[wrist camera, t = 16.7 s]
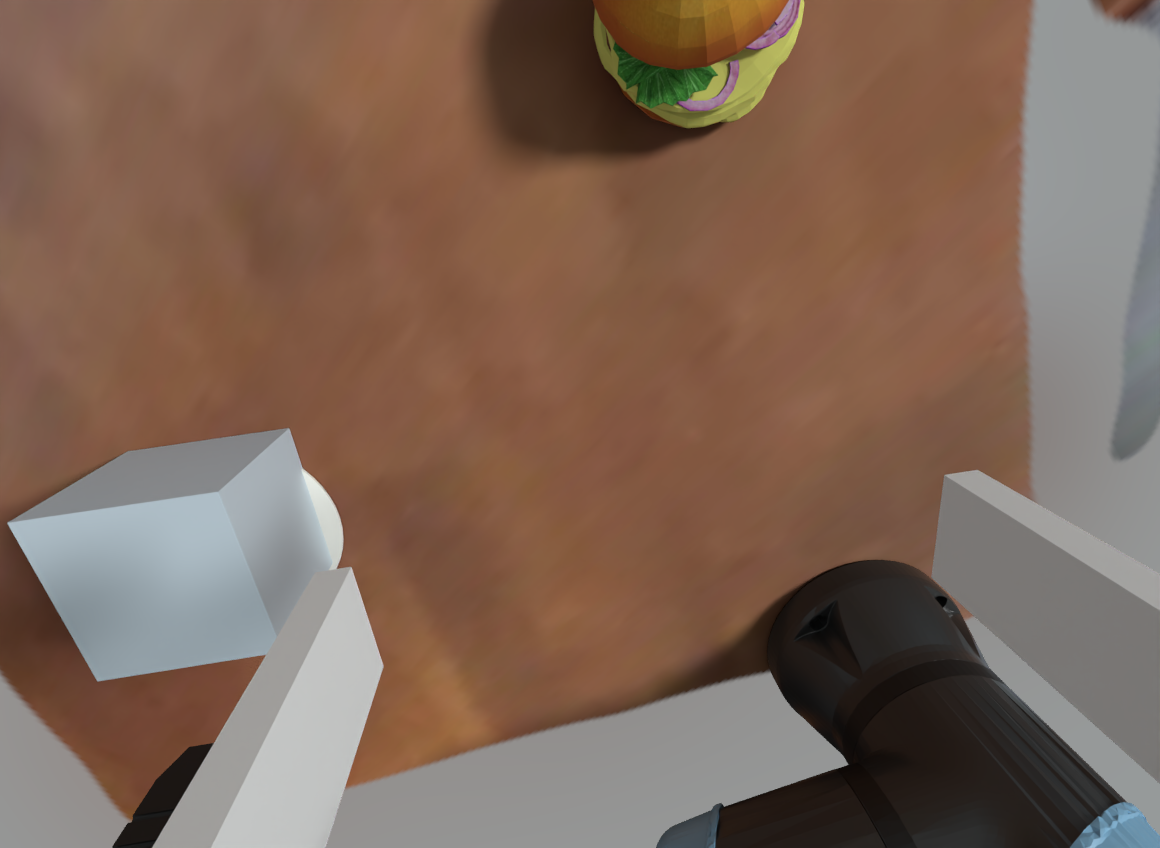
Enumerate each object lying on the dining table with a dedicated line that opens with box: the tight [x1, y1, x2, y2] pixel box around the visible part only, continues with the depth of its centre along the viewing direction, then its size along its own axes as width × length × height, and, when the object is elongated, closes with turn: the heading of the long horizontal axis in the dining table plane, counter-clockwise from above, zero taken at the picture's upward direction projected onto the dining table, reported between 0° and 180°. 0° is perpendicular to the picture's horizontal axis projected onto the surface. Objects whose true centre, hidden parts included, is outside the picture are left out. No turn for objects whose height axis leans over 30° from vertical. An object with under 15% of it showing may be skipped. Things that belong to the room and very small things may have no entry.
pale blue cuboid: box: [7, 428, 333, 681], centre depth 33 cm, size 10×10×9 cm
